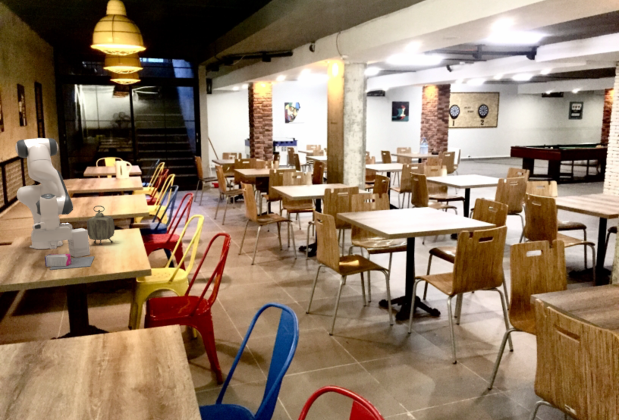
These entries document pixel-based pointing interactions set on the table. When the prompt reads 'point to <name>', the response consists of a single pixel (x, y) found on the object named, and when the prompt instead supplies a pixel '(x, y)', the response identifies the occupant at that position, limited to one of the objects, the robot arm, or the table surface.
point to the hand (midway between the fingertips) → (53, 248)
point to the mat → (76, 263)
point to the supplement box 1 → (57, 260)
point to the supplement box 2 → (79, 243)
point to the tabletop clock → (100, 227)
